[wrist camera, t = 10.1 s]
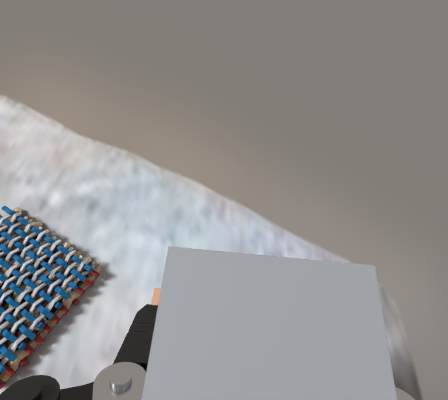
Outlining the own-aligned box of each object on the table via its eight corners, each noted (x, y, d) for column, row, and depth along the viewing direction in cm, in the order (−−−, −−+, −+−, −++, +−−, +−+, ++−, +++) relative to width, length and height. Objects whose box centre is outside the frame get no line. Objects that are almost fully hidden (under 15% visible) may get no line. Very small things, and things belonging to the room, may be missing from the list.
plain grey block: (172, 439, 14) (117, 536, 5) (188, 313, 16) (170, 237, 8) (286, 449, 14) (423, 562, 5) (284, 322, 16) (372, 255, 8)
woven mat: (2, 399, 21) (-16, 401, 19) (-97, 310, 24) (-121, 304, 22) (110, 272, 26) (104, 264, 24) (19, 207, 28) (7, 196, 26)
